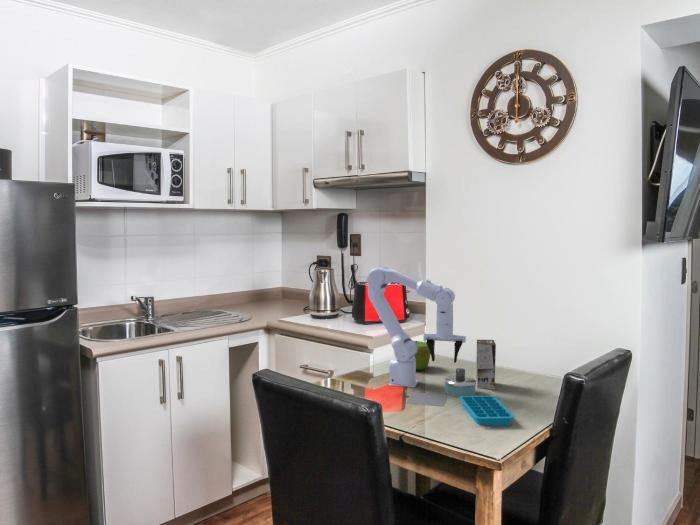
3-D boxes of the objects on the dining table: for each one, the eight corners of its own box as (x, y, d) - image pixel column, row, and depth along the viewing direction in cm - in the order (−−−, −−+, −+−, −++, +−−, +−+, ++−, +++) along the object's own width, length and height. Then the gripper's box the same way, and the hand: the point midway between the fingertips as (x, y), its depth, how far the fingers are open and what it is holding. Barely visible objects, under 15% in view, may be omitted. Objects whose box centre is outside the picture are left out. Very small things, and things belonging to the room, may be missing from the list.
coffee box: (495, 390, 190) (496, 344, 189) (476, 388, 191) (477, 343, 190) (493, 382, 199) (494, 339, 198) (475, 381, 200) (476, 338, 199)
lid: (442, 385, 182) (442, 371, 182) (447, 377, 192) (447, 364, 192) (473, 388, 179) (473, 374, 178) (477, 380, 188) (477, 367, 188)
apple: (397, 364, 225) (397, 337, 224) (426, 363, 226) (426, 337, 225) (403, 372, 212) (404, 344, 212) (434, 371, 214) (434, 343, 213)
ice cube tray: (475, 428, 155) (475, 418, 155) (458, 405, 175) (458, 396, 175) (515, 427, 156) (515, 417, 155) (493, 404, 176) (493, 395, 175)
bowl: (444, 396, 183) (444, 385, 182) (447, 388, 192) (447, 377, 192) (474, 399, 180) (474, 387, 180) (475, 390, 189) (476, 379, 189)
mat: (406, 404, 175) (406, 402, 175) (412, 393, 186) (412, 392, 186) (443, 407, 172) (443, 406, 172) (447, 396, 183) (447, 395, 183)
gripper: (422, 324, 188) (422, 362, 189) (464, 326, 184) (464, 365, 185) (425, 320, 195) (424, 357, 196) (466, 322, 191) (465, 360, 192)
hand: (444, 361), depth 191 cm, fingers open, 7 cm apart
